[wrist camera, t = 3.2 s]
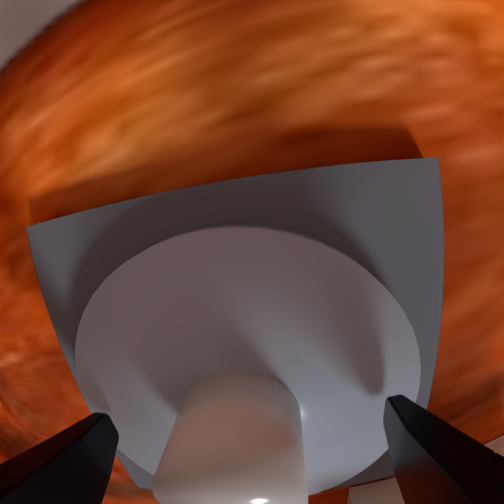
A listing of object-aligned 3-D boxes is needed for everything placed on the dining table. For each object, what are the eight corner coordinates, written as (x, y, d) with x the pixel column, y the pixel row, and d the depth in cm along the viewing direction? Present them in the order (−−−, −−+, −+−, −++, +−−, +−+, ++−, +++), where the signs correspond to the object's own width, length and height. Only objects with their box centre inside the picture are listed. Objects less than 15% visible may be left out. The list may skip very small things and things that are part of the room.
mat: (142, 475, 11) (138, 487, 10) (40, 223, 9) (25, 227, 8) (405, 458, 10) (409, 470, 9) (424, 158, 7) (437, 157, 7)
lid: (150, 479, 10) (124, 549, 6) (52, 255, 8) (-46, 301, 4) (392, 462, 9) (417, 539, 5) (407, 197, 7) (514, 220, 3)
